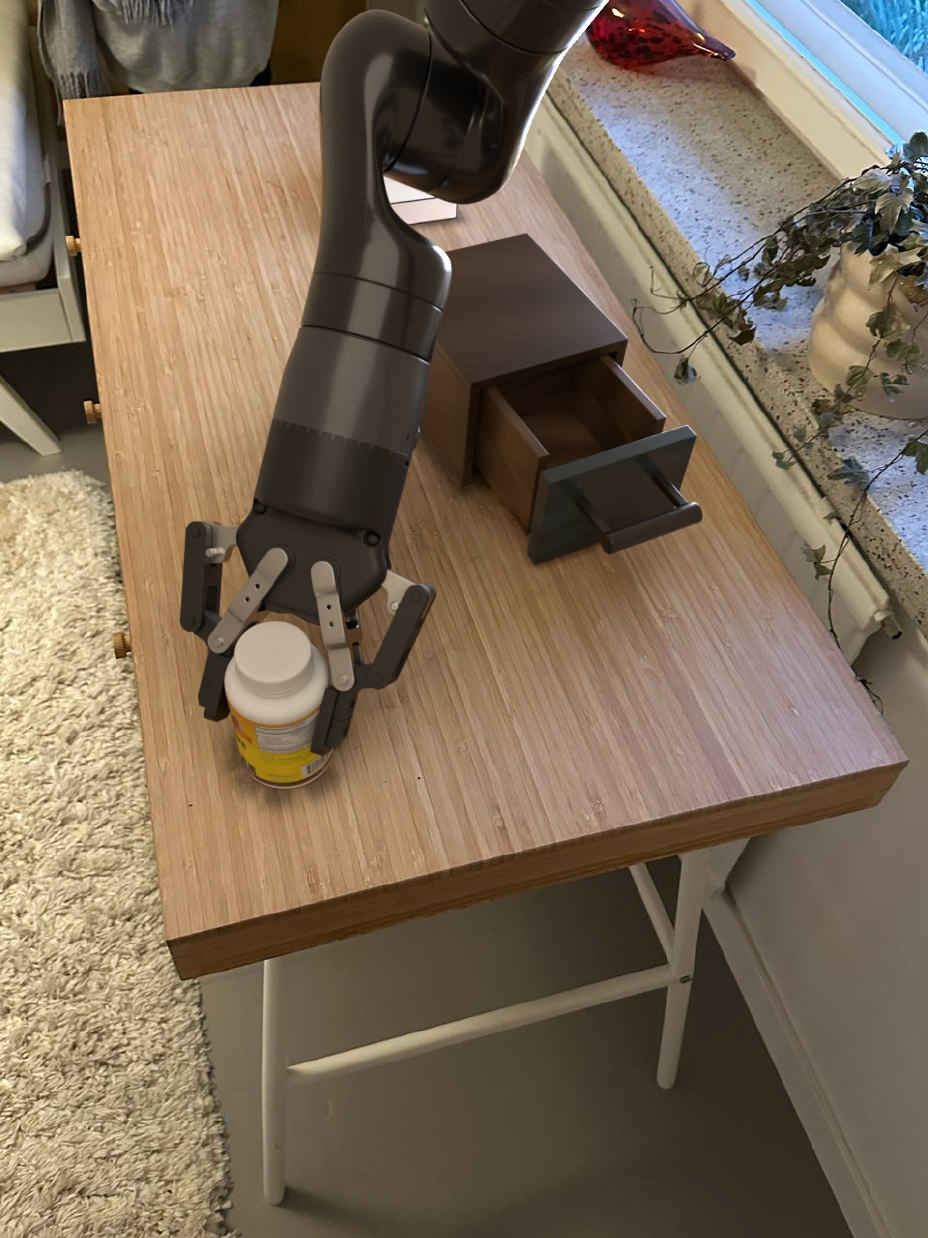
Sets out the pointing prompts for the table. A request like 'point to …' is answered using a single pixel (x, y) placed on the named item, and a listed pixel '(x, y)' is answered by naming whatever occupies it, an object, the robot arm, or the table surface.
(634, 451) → the drawer
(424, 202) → the container
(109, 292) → the table surface
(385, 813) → the table surface
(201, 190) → the table surface
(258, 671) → the supplement bottle
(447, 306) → the cabinet
